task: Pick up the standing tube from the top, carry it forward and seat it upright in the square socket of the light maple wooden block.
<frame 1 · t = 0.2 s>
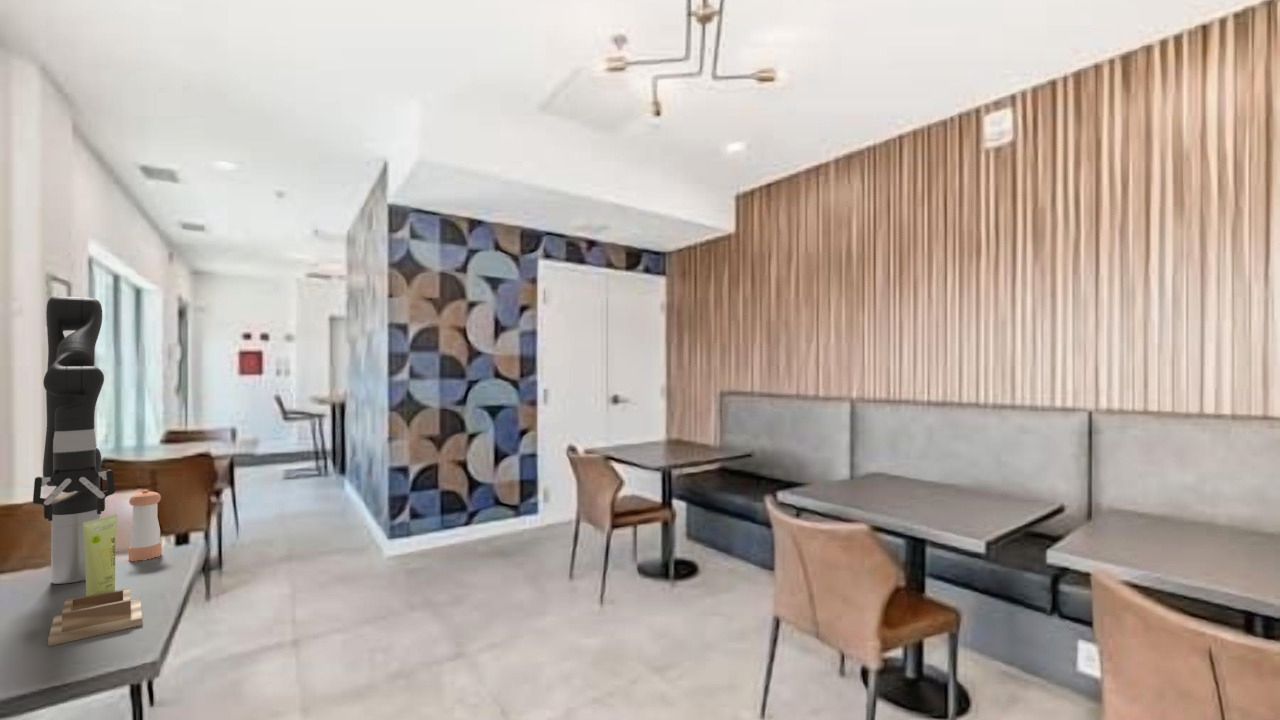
hand: (75, 517, 145), 18 cm above the table, tool pointing down, fingers open, 8 cm apart
socket block: (97, 624, 126), on the table
tube: (99, 604, 138), on the table
pepper shaker: (145, 557, 172), on the table
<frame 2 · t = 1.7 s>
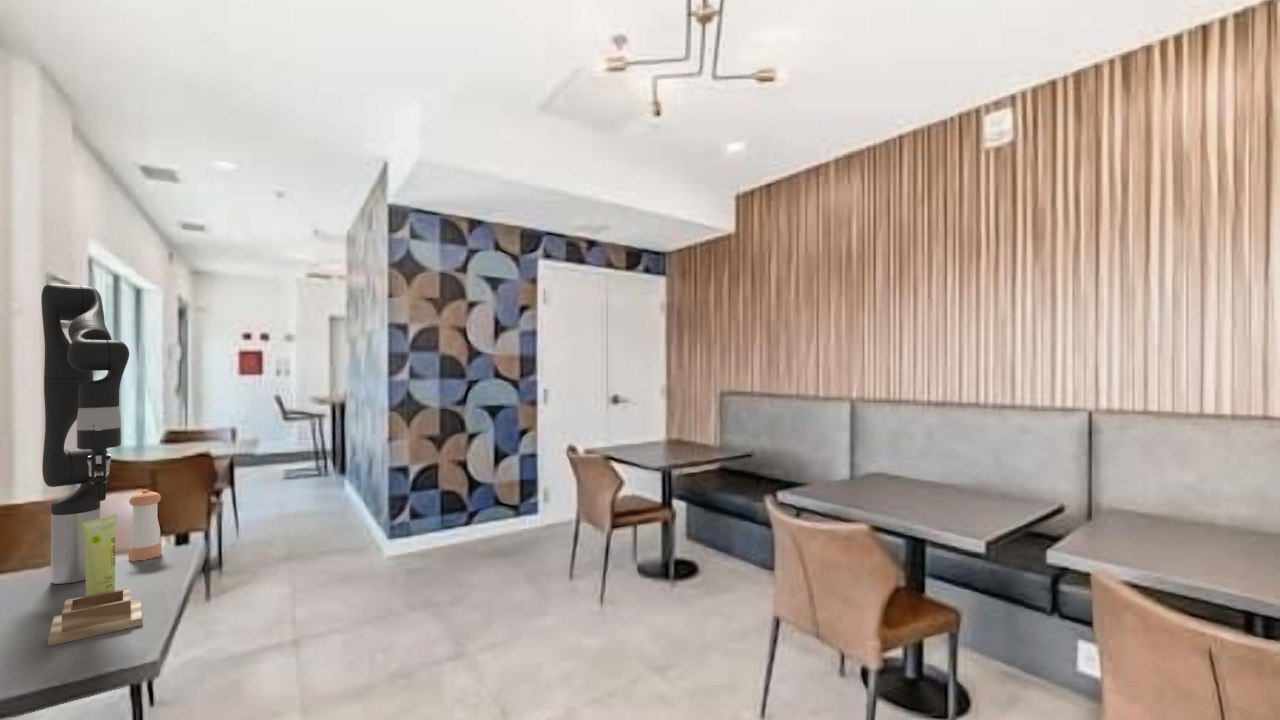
hand: (99, 497, 138), 24 cm above the table, tool pointing down, fingers open, 8 cm apart
nothing on the table moved.
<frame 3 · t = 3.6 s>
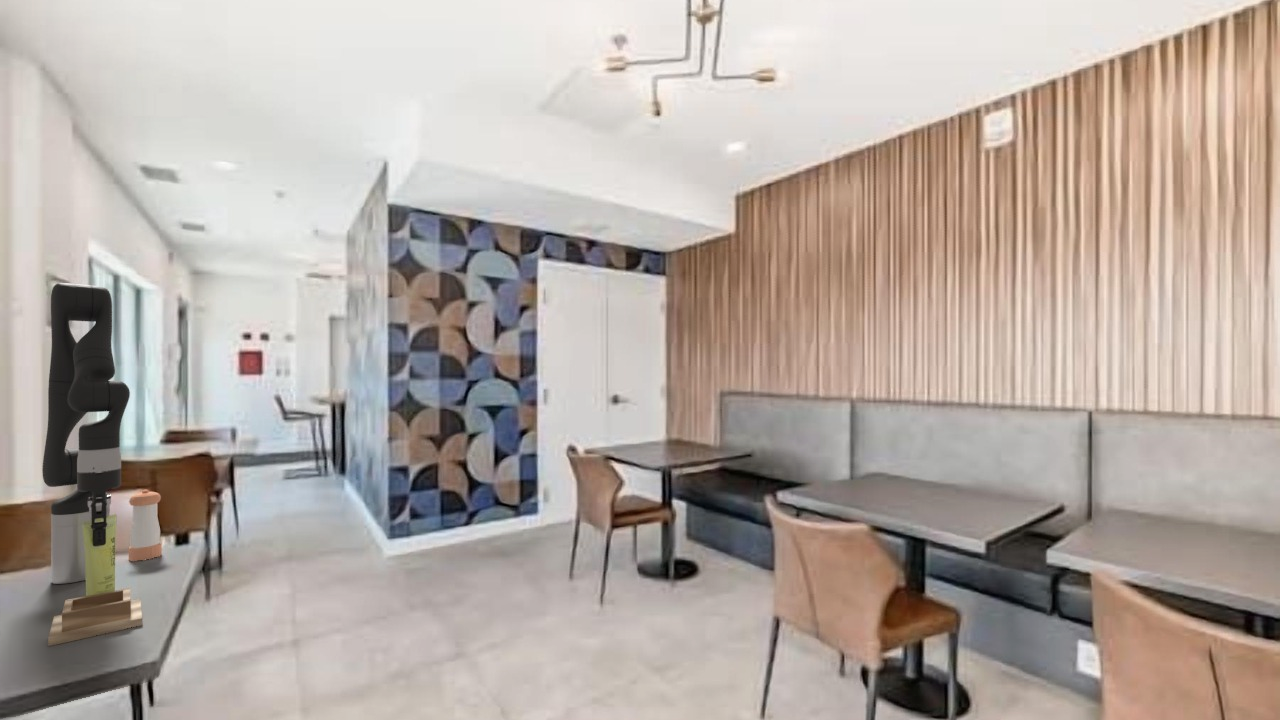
hand: (99, 542, 138), 14 cm above the table, tool pointing down, fingers closed on tube, 4 cm apart
tube: (99, 604, 138), on the table, touching gripper
everything else where it was.
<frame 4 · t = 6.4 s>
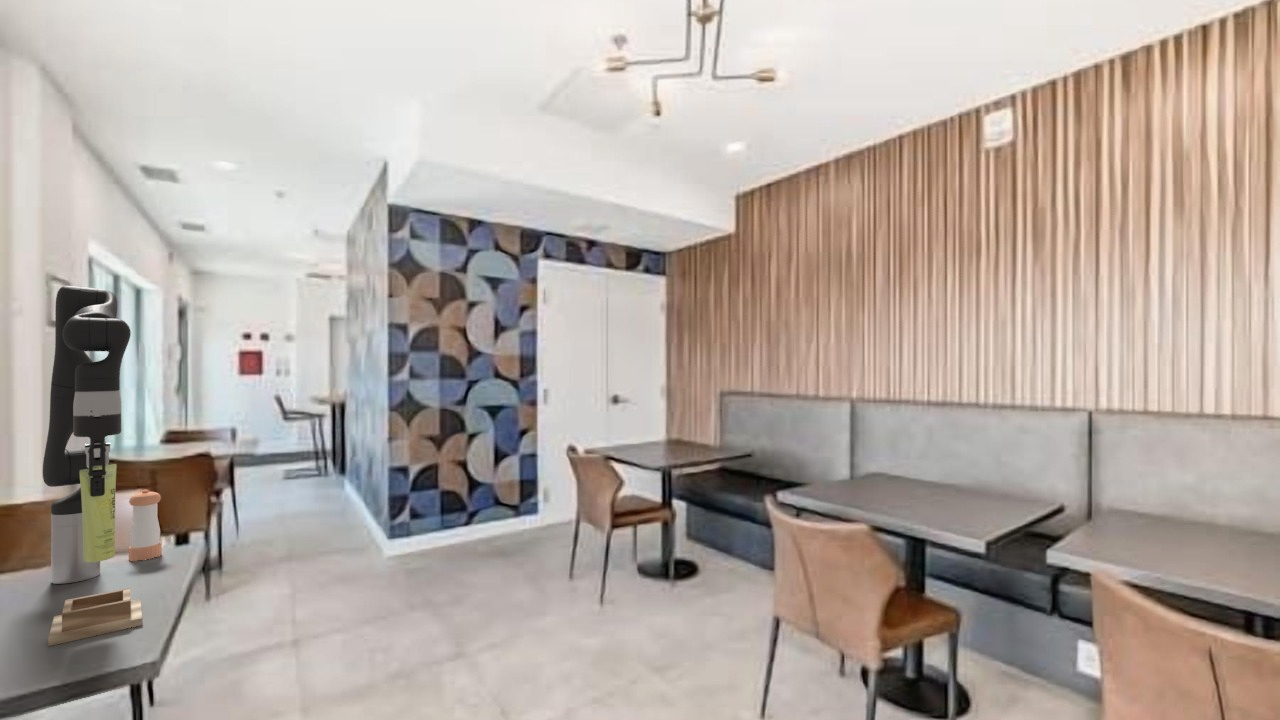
hand: (97, 493, 127), 27 cm above the table, tool pointing down, fingers closed on tube, 4 cm apart
tube: (98, 560, 127), point 13 cm above the table, touching gripper
everything else where it was.
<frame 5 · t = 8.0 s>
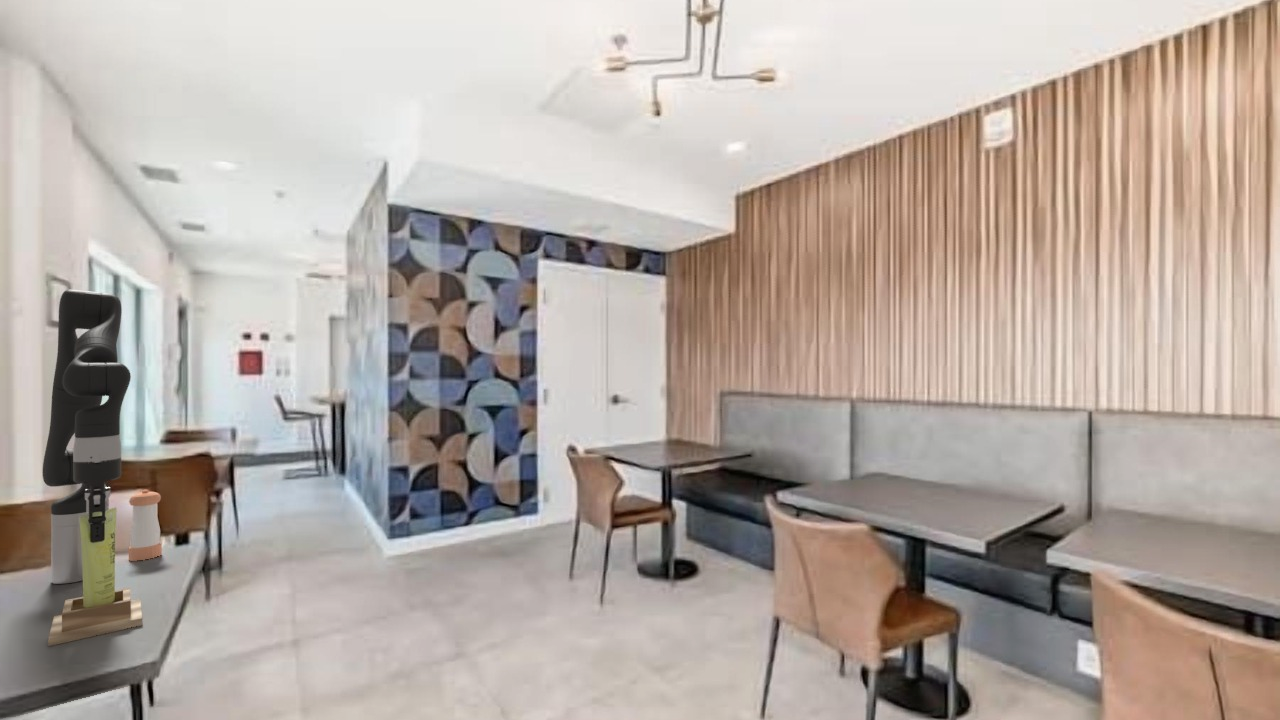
hand: (97, 538, 127), 18 cm above the table, tool pointing down, fingers closed on tube, 4 cm apart
tube: (98, 605, 127), point 4 cm above the table, touching gripper
everything else where it was.
when the fingers open (17 cm above the table, at t = 9.1 s): tube drops 1 cm, resting on socket block.
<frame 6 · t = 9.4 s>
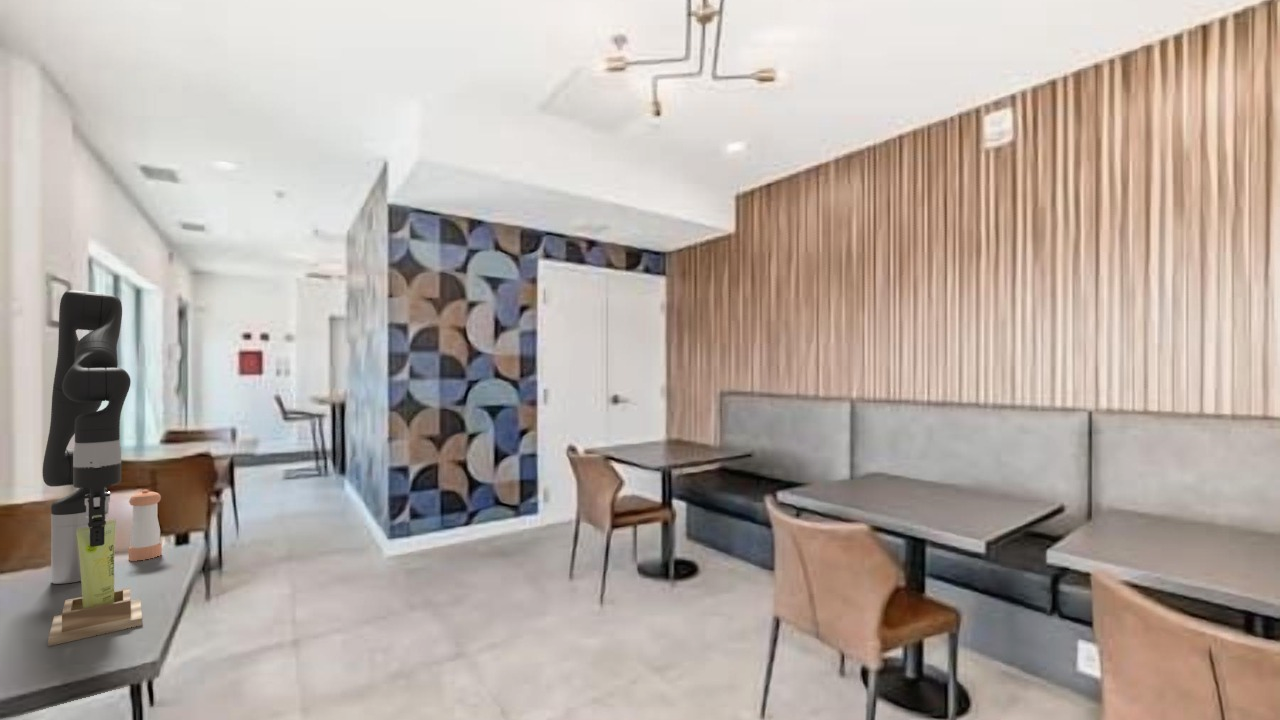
hand: (97, 541, 127), 17 cm above the table, tool pointing down, fingers open, 7 cm apart
tube: (97, 617, 127), point 1 cm above the table, touching socket block
everything else where it was.
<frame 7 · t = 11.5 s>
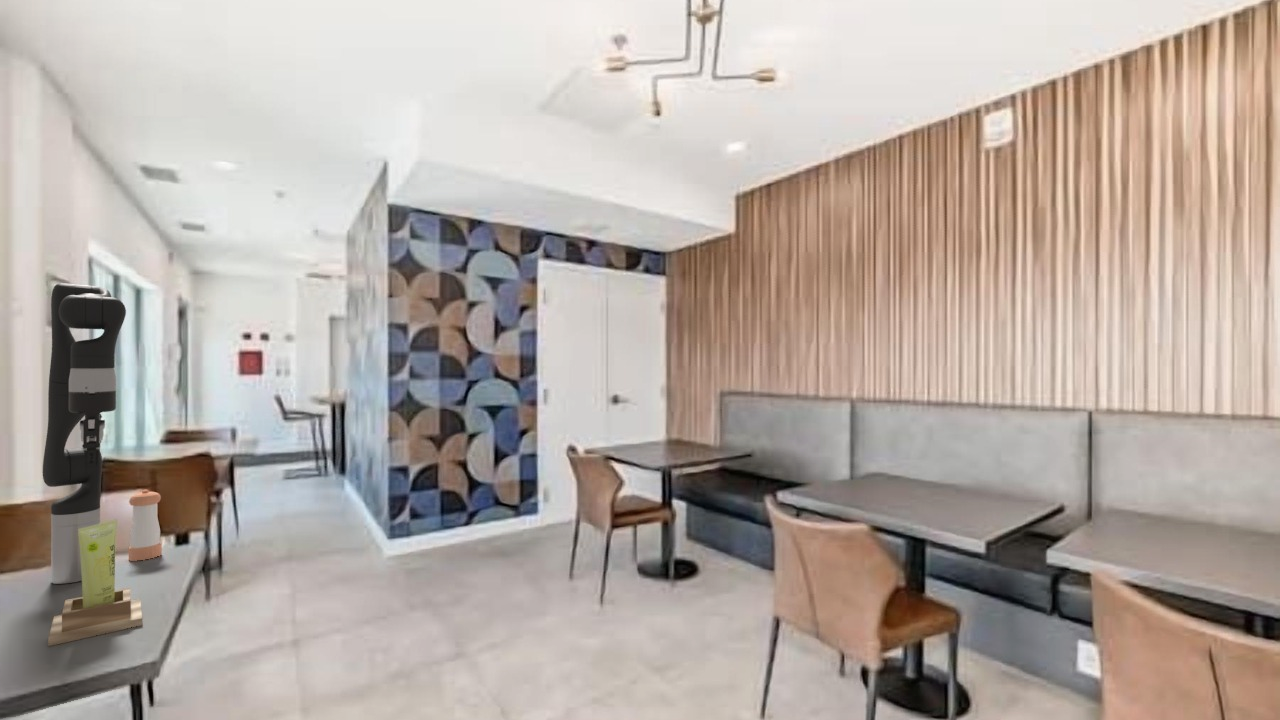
hand: (92, 465, 129), 33 cm above the table, tool pointing down, fingers open, 8 cm apart
nothing on the table moved.
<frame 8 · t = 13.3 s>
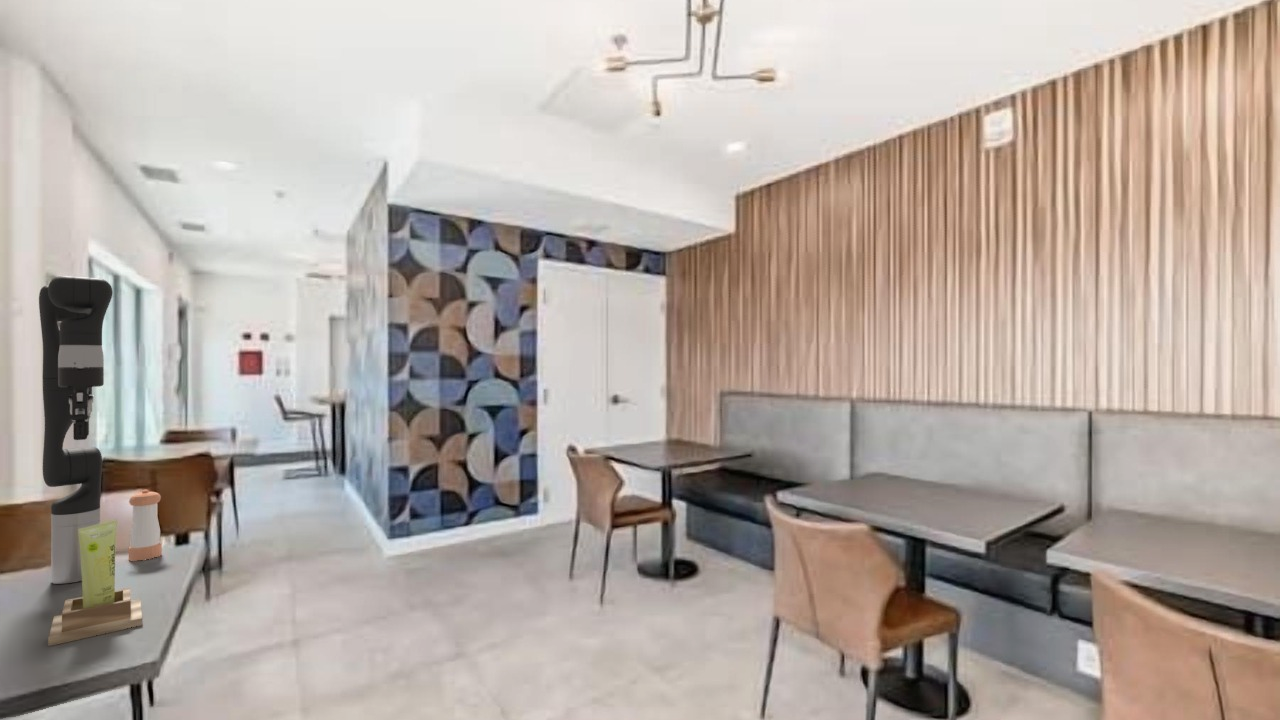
hand: (81, 437, 135), 38 cm above the table, tool pointing down, fingers open, 8 cm apart
nothing on the table moved.
at the end: tube 0.3 cm off-centre on the socket block, point 1.3 cm above the socket block's base; tube tilted 0°; the gripper is holding nothing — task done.
